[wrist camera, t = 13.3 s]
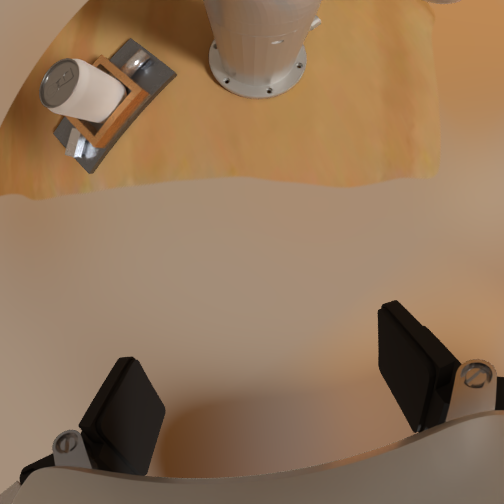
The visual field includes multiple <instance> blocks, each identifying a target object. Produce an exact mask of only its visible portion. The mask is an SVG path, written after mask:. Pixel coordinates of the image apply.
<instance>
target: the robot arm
mask: <svg viewBox="0 0 504 504" xmlns="http://www.w3.org/2000/svg"><path fill="white" fill-rule="evenodd" d="M423 1H427V2H432V3H437V4H449V3H455V2H458V1H460V0H423ZM203 2H204V5H205V8H206V12H207V15H208V18H209V22H210V25H211V28H212V32H213V35H214V38H215V39H214V40H213V42H212V44H211V47H210V50H209V65H210V68H211V71H212V73H213V75H214V77H215V78H216V80H217V81H218V82H219V83H220V84H221V85H222V86H223V87H224V88H225V89H227V90H228V91H230V92H231V93H233V94H236V95H238V96H241V97H245V98H250V99H266V98H271V97H275V96H278V95H281V94H283V93H285V92H287V91H288V90H290V89H291V88H293V86H294V85H295V84H296V83H297V82H298V81H299V80H300V78H301V77H302V75H303V73H304V70H305V67H306V62H307V57H306V51H305V47H304V45H303V42H304V40H305V38H306V36H307V33H308V31H310V30H313V29H314V28H316V27H317V26H319V25H320V24H321V20H320V19H319V18H318V17H317V16H316V13H317V11H318V8H319V6H320V3H321V0H203ZM216 48H217V49H216ZM297 66H299V67H300V68H297ZM226 81H229V83H228V84H226V83H225V82H226ZM267 91H271V93H270V94H268V93H267ZM378 339H379V340H378V343H379V344H378V345H379V357H378V360H379V361H378V365H379V370H380V372H381V374H382V376H383V378H384V379H385V381H386V383H387V385H388V387H389V388H390V390H391V392H392V394H393V395H394V397H395V399H396V401H397V403H398V404H399V406H400V408H401V410H402V412H403V414H404V415H405V417H406V419H407V421H408V423H409V425H410V427H411V429H412V430H413V432H415V433H416V432H419V433H417V434H414V435H413V436H410V437H407V438H405V439H402V440H399V441H397V442H394V443H391V444H389V445H386V446H383V447H380V448H377V449H374V450H371V451H368V452H364V453H361V454H358V455H355V456H351V457H348V458H344V459H340V460H337V461H333V462H329V463H324V464H320V465H316V466H311V467H306V468H301V469H296V470H290V471H284V472H277V473H270V474H262V475H253V476H242V477H230V478H229V477H228V478H165V477H164V478H163V477H150V476H145V475H146V474H147V472H148V468H149V465H150V462H151V458H152V455H153V452H154V448H155V445H156V442H157V438H158V435H159V432H160V428H161V425H162V422H163V419H164V416H165V407H164V404H163V403H162V401H161V400H160V398H159V396H158V395H157V393H156V391H155V389H154V388H153V386H152V385H151V382H150V381H149V379H148V377H147V375H146V373H145V372H144V370H143V368H142V366H141V364H140V362H139V361H138V360H135V358H133V357H122V358H119V359H118V360H117V362H116V363H115V365H114V367H113V368H112V370H111V371H110V373H109V375H108V376H107V378H106V380H105V381H104V383H103V384H102V386H101V388H100V389H99V391H98V393H97V394H96V396H95V398H94V399H93V401H92V403H91V404H90V406H89V408H88V410H87V411H86V413H85V415H84V416H83V418H82V420H81V422H80V423H79V427H80V428H81V430H82V432H81V434H80V433H79V432H78V431H76V430H67V431H64V432H62V433H61V434H60V435H58V436H57V437H56V439H55V440H54V443H53V447H52V450H53V454H51V455H49V456H47V457H45V458H43V459H40V460H38V461H36V462H35V463H32V464H30V465H28V466H26V467H24V468H23V470H22V472H21V474H20V483H19V482H18V481H16V482H15V483H14V484H13V485H12V486H10V487H9V488H8V489H7V490H5V491H4V492H3V493H2V494H0V504H504V377H497V373H496V370H495V368H494V366H493V365H491V364H490V363H489V362H487V361H485V360H480V359H473V360H469V361H466V362H465V363H463V364H461V363H460V362H459V361H458V360H457V359H456V358H455V357H454V355H453V354H452V353H451V352H450V351H449V350H448V349H447V348H446V347H445V346H444V345H443V344H442V343H441V342H440V340H439V339H438V338H436V336H435V335H434V334H433V333H432V332H431V331H430V330H429V329H428V328H426V327H425V326H422V325H421V324H420V323H419V322H418V321H417V320H416V319H415V318H414V317H413V316H412V315H411V314H410V313H409V312H408V311H407V310H406V309H405V308H404V307H403V306H402V305H401V304H400V303H399V302H398V301H397V300H394V301H391V302H388V303H385V304H383V305H382V307H381V309H379V310H378Z"/></svg>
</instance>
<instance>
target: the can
mask: <svg viewBox="0 0 504 504" xmlns="http://www.w3.org/2000/svg"><path fill="white" fill-rule="evenodd" d="M39 96H40V101H41V103H42V104H43V105H44V106H45V107H47V108H48V109H49V110H50V111H52V112H54V113H56V114H60V115H65V116H69V117H74V118H78V119H83V120H87V121H92V122H96V123H105V122H106V121H107V120H108V118H109V117H110V116H111V115H112V113H113V112H114V111H115V110H116V109H117V107H118V106H119V105H120V104H121V103H122V102H123V100H124V99H125V98H126V97H127V93H126V89H125V87H124V85H123V84H122V83H121V82H119V81H118V80H116V79H115V78H113V77H111V76H110V75H108V74H106V73H105V72H103V71H101V70H99V69H98V68H96V67H94V66H92V65H91V64H89V63H87V62H85V61H83V60H80V59H70V58H66V59H62V60H60V61H58V62H56V63H55V64H54V65H53V66H51V67H50V69H49V70H48V71H47V72H46V74H45V76H44V77H43V80H42V82H41V85H40V90H39Z"/></svg>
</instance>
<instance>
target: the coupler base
mask: <svg viewBox="0 0 504 504" xmlns="http://www.w3.org/2000/svg"><path fill="white" fill-rule="evenodd" d="M92 66H94V67H96V68H98V69H99V70H101V71H103V72H105V73H106V74H108V75H110V76H111V77H113V78H115V79H116V80H118V81H119V82H121V83H122V84H123V85H124V87H125V89H126V93H127V97H126V98H125V99H124V100H123V102H122V103H121V104H120V105H119V106H118V107H117V109H116V110H115V111H114V112H113V113H112V115H111V116H110V117H109V118H108V120H107V121H106V122H105V123H96V122H92V121H87V120H83V119H78V118H74V117H69V116H65V115H64V116H65V117H64V118H63V120H62V121H61V123H60V124H59V126H58V127H57V129H56V130H55V132H54V133H53V134H54V135H55V136H56V138H57V139H58V140H59V141H60V142H61V143H62V144H63V146H64V147H65V148H66V152H65V155H68V156H71V157H74V158H75V159H76V160H77V161H78V162H79V163H80V165H81V166H82V167H83V168H84V169H85V170H86V171H87V172H88V173H89V174H92V173H94V171H95V170H96V169H97V167H98V166H99V164H100V163H101V162H102V160H103V159H104V158H105V156H106V155H107V154H108V152H109V151H110V150H111V148H112V147H113V146H114V144H115V143H116V142H117V141H118V139H119V138H120V137H121V136H122V134H123V133H124V132H125V131H126V130H127V128H128V127H129V126H130V125H131V124H132V123H133V121H134V120H135V119H136V118H137V117H138V116H139V114H140V113H141V112H142V111H143V110H144V109H145V108H146V107H147V106H148V105H149V103H150V102H151V101H152V100H153V99H154V98H155V97H156V96H157V95H158V94H159V93H160V92H161V91H162V90H163V89H164V88H165V87H166V86H167V85H168V84H169V83H170V82H171V81H172V80H173V79H174V78H175V77H176V76H177V74H176V73H175V72H174V71H173V70H171V69H170V68H169V67H168V66H166V65H165V64H164V63H163V62H161V61H160V60H159V59H158V58H156V57H155V56H154V55H152V54H151V53H150V52H149V51H147V50H146V49H145V48H143V47H142V46H141V45H139V44H138V43H137V42H135V41H134V40H133V39H131V38H130V39H129V40H128V41H127V42H126V43H125V44H124V45H123V46H122V47H121V48H120V50H119V51H118V52H117V53H116V54H115V55H114V56H113V57H112V58H111V59H110V60H109V59H107V58H106V57H104V56H103V55H101V56H100V57H99V58H98V59H97V60H96V61H95V62H94V63H93V65H92Z"/></svg>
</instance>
